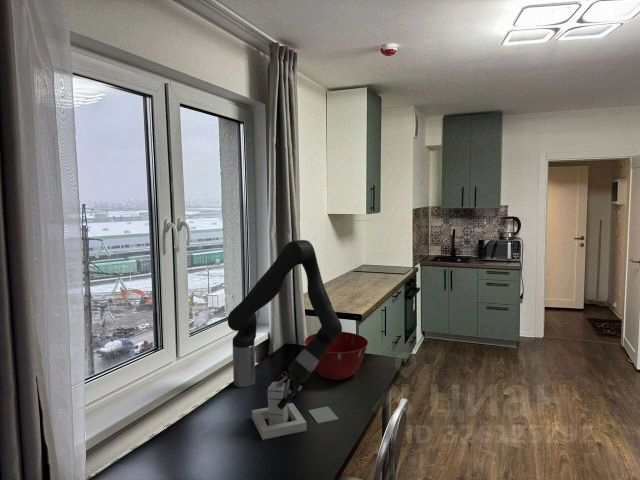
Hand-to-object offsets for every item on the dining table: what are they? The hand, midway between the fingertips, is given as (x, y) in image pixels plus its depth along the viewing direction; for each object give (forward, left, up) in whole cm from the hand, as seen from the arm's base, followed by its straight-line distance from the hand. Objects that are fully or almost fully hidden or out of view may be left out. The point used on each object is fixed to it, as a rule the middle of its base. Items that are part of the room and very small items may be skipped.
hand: (274, 403), depth 158 cm
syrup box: (0, +1, -8) cm, 8 cm away
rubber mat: (0, +18, -8) cm, 20 cm away
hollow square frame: (0, +1, -8) cm, 8 cm away
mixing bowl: (-33, +38, -8) cm, 51 cm away
